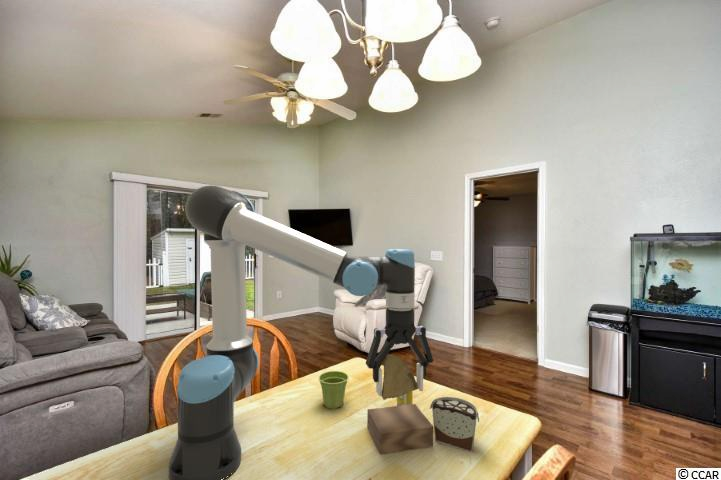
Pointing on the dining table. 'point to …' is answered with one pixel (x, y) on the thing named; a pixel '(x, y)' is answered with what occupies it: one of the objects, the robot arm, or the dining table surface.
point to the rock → (397, 378)
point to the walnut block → (399, 428)
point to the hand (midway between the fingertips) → (399, 391)
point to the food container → (454, 422)
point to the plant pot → (333, 388)
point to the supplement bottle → (405, 399)
